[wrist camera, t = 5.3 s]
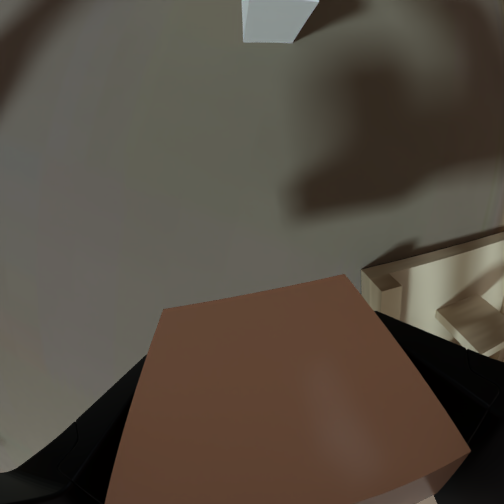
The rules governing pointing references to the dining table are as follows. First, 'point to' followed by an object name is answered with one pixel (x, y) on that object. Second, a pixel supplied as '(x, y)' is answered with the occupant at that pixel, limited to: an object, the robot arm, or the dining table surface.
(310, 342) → the pink clay brick
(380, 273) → the dish rack
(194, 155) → the dining table surface
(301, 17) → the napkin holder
